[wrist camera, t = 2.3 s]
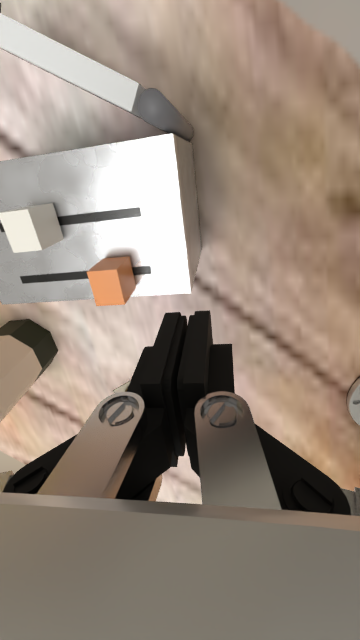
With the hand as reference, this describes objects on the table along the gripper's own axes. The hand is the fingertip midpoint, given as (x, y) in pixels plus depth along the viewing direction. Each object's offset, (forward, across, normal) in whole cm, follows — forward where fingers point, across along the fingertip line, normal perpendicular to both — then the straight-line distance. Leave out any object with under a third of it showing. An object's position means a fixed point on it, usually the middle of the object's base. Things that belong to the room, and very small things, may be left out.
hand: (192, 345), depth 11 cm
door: (+22, +8, -13) cm, 27 cm away
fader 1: (+10, +11, -4) cm, 15 cm away
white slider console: (+22, +9, -3) cm, 24 cm away
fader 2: (+10, +6, 0) cm, 12 cm away
